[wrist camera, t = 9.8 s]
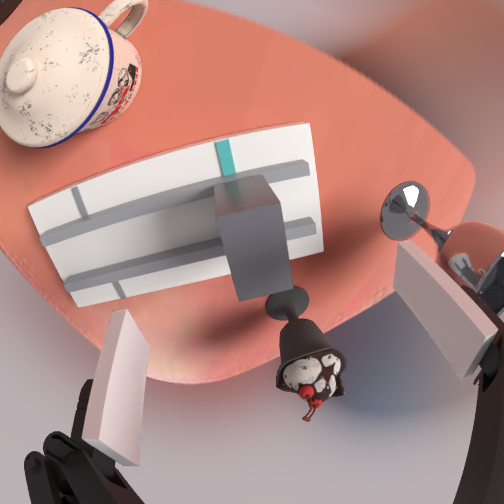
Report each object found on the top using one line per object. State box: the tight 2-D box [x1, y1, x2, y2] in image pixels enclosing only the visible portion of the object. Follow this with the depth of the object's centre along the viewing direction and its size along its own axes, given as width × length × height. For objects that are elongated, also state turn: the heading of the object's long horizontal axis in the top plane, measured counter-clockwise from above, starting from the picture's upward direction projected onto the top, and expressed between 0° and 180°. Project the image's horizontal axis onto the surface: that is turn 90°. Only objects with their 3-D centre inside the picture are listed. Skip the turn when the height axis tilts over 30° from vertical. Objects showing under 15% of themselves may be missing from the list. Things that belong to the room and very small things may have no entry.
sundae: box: [266, 286, 348, 422], centre depth 26 cm, size 7×7×15 cm
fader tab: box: [214, 175, 293, 302], centre depth 20 cm, size 6×4×8 cm, turn 11°
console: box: [28, 121, 324, 308], centre depth 24 cm, size 12×26×4 cm, turn 101°
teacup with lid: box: [0, 0, 148, 148], centre depth 13 cm, size 12×9×12 cm
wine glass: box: [381, 181, 504, 317], centre depth 22 cm, size 8×8×15 cm
